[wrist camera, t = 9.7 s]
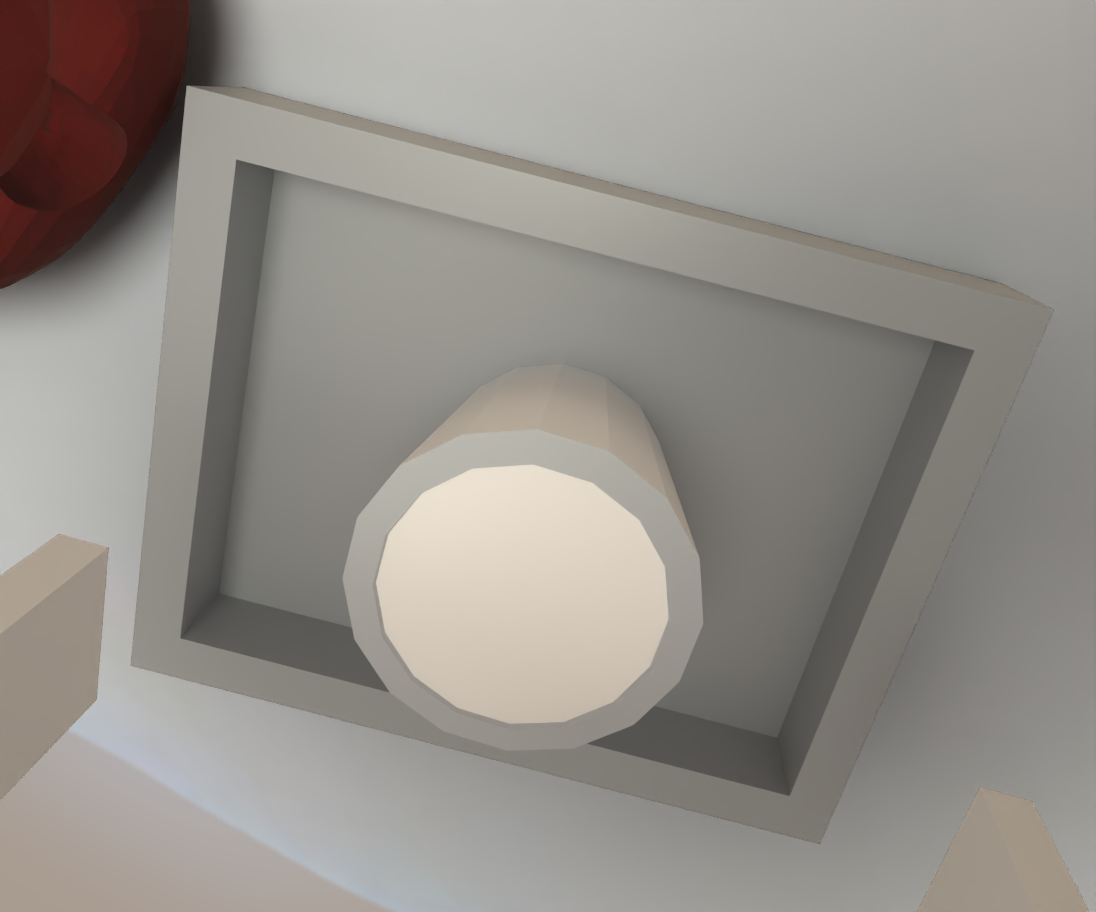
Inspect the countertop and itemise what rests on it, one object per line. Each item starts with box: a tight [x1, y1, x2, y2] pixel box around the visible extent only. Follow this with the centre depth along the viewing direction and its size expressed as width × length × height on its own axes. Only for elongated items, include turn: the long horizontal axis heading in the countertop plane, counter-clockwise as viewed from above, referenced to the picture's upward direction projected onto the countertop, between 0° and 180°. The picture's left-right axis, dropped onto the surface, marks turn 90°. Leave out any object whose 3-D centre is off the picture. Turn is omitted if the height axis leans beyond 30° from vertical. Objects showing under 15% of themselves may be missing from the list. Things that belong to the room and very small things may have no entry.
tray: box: [131, 86, 1054, 844], centre depth 24 cm, size 18×14×3 cm
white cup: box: [342, 364, 703, 751], centre depth 21 cm, size 7×7×7 cm
